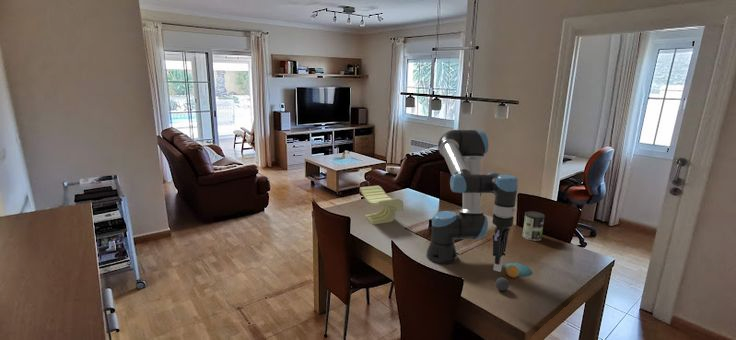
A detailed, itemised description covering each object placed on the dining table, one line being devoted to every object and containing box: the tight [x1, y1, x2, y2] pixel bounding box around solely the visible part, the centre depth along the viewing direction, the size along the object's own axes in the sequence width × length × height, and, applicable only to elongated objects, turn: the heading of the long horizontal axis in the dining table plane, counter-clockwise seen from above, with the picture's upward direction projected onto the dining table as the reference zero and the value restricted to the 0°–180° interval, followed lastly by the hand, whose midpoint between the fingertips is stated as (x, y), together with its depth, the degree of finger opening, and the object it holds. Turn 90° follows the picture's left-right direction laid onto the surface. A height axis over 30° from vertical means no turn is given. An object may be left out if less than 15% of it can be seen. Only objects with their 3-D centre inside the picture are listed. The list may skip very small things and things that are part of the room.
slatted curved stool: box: [359, 185, 404, 225], centre depth 232 cm, size 30×16×18 cm, turn 23°
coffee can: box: [522, 210, 546, 242], centre depth 210 cm, size 10×10×14 cm
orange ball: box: [505, 265, 519, 278], centre depth 168 cm, size 6×6×6 cm
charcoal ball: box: [495, 276, 510, 292], centre depth 157 cm, size 6×6×6 cm
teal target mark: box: [504, 262, 533, 277], centre depth 175 cm, size 12×12×1 cm
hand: (497, 270), depth 147 cm, fingers closed
